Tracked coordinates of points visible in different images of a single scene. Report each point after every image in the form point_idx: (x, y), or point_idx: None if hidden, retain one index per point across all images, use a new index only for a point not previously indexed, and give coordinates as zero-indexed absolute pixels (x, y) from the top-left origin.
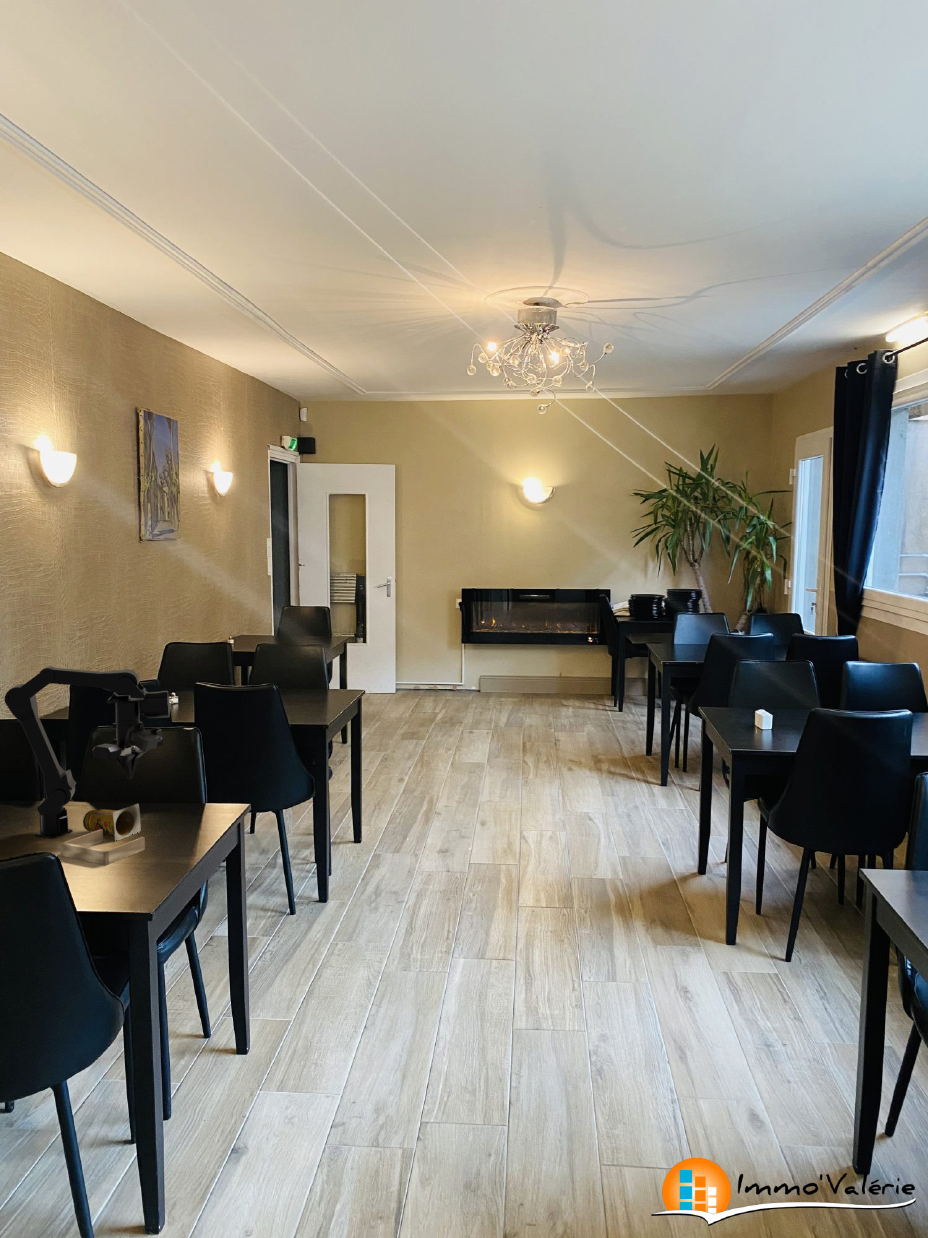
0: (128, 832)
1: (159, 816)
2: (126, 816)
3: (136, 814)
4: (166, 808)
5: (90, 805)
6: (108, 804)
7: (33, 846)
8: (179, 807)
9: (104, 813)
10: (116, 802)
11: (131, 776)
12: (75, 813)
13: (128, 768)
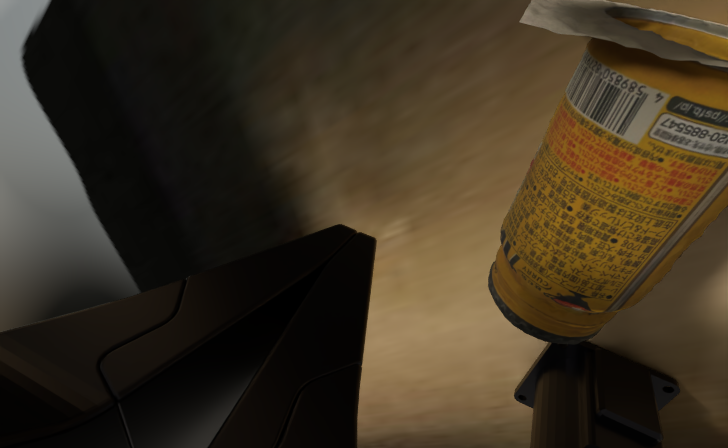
0: (649, 21)
1: (267, 47)
2: (574, 92)
3: (568, 9)
4: (175, 82)
5: None
6: None
7: None
8: (139, 27)
9: (667, 238)
10: None
11: (346, 240)
12: None
13: (359, 356)
